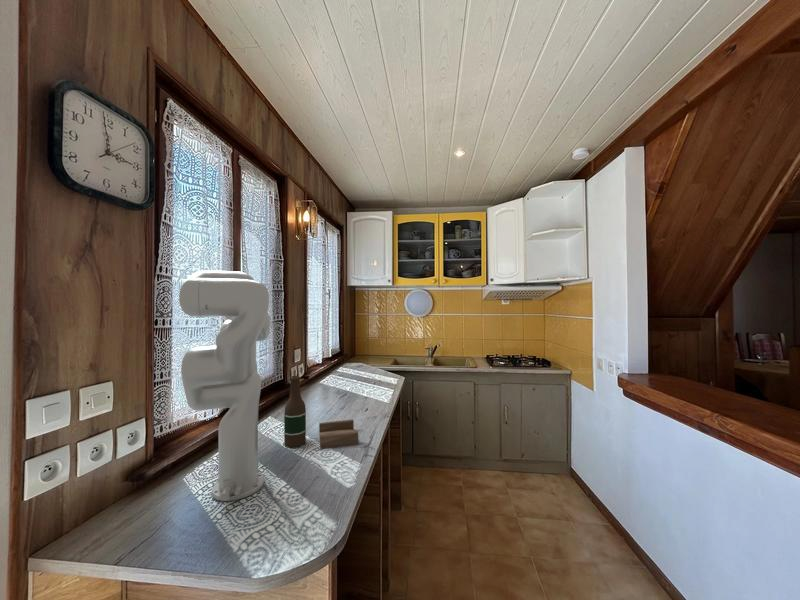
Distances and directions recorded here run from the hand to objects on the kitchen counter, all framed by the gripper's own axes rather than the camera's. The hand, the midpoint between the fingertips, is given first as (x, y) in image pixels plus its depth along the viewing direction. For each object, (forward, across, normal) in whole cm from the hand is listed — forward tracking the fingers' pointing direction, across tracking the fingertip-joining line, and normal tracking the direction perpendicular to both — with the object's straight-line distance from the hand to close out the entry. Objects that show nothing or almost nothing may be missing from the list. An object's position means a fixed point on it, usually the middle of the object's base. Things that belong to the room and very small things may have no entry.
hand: (241, 407), depth 110 cm
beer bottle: (+14, +18, 0) cm, 23 cm away
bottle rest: (+14, +32, 0) cm, 36 cm away
